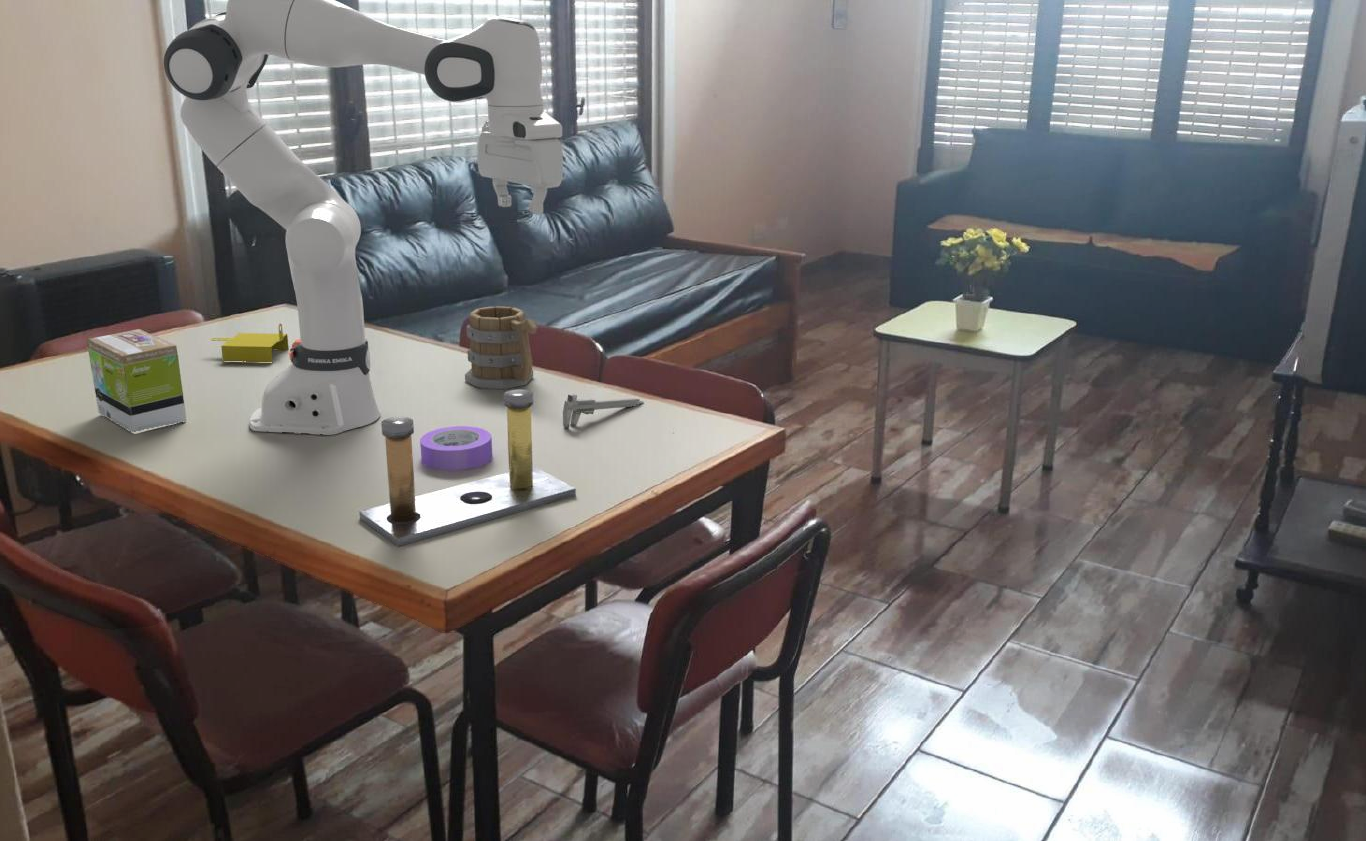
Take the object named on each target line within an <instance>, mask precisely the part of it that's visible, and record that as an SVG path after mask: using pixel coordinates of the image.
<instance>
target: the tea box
mask: <svg viewBox="0 0 1366 841" xmlns="http://www.w3.org/2000/svg"><path fill="white" fill-rule="evenodd" d="M86 345H87V352H88V357H89V362H90V370H91V374H92V375H91V376H92V380H93V388H94V392H95V397H96V398H95V400H96V406H97V410H98V414H99V413H100V414H101V415H100V414H99V415H100V416H102V415H103V416H102V417H104V416H105V417H108V418H109V419H111V420H113V421H114V422H116V423H118V424H119V425H121V426H123V427H125V428H126V429H128V430H130V431H132V432H136V431H141V430H144V429H149V428H154V427H159V426H163V425H169V424H174V423H178V422H183V421H186V422H187V412H186V405H185V399H184V391H183V385H182V384H183V383H182V376H181V368H180V362H179V355H178V347H177V345H176V344H175V343H171V342H169V341H168V340H165V339H163V338H160V337H159V336H156V335H154V334H152V333H149V332H148V331H145V330H142V329H140V328H137V329H131V330H127V331H123V332H122V331H121V332H117V333H112V334H107V335H102V336H97V337H91V338H87V339H86ZM105 417H104V418H105ZM109 419H108V420H109ZM114 422H113V423H114ZM116 423H115V424H116ZM183 423H184V422H183ZM119 425H118V426H119ZM121 426H120V427H121ZM123 427H122V428H123ZM126 429H125V430H126Z"/></svg>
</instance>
